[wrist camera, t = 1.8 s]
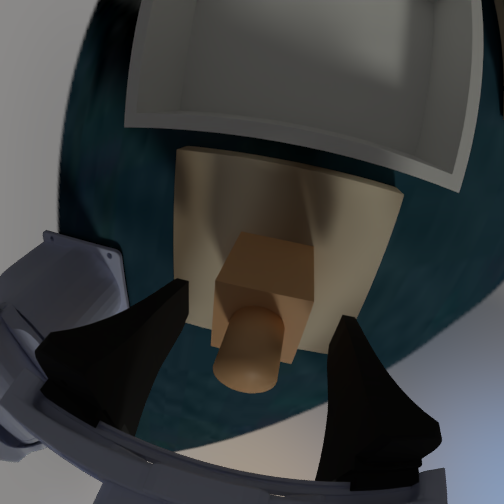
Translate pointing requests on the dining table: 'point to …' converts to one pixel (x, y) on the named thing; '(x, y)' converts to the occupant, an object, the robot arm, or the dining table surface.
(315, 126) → the bin
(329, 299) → the stud board
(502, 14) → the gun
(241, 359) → the orange knobbed block
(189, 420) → the dining table surface
